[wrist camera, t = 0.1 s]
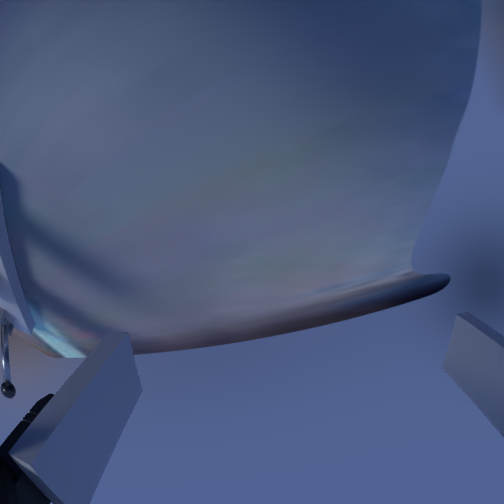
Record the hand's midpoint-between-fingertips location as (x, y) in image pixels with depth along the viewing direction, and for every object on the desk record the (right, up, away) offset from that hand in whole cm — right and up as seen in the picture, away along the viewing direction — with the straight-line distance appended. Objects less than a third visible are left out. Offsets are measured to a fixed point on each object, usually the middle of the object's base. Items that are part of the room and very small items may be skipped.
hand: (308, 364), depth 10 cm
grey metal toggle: (-47, -9, +26) cm, 55 cm away
